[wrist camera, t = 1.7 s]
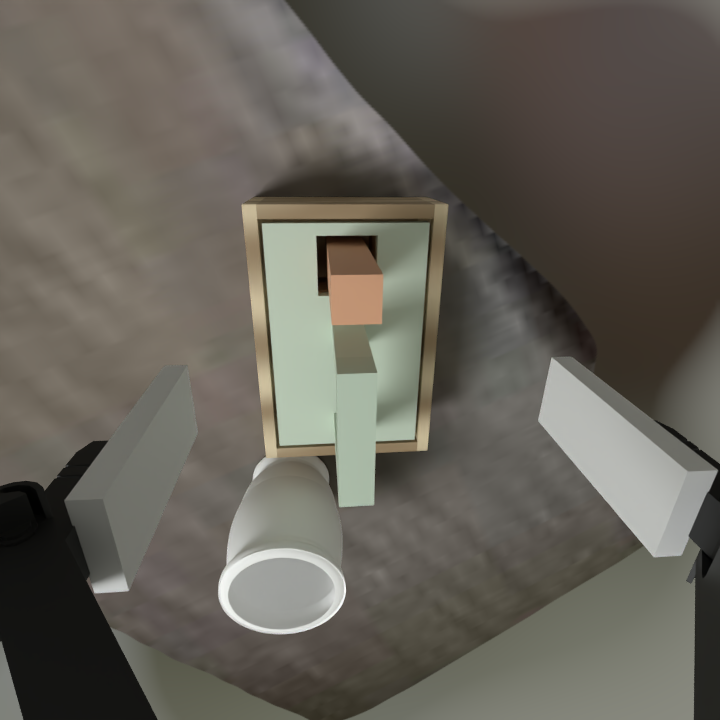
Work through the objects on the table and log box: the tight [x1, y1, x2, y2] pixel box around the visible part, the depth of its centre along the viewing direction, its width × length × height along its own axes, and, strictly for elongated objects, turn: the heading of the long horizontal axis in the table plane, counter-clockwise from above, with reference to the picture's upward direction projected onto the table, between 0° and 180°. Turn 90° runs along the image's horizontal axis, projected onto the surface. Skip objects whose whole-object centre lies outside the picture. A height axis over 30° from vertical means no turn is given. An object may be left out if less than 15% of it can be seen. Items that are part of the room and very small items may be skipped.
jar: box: [218, 456, 346, 634], centre depth 43 cm, size 11×10×15 cm
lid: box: [262, 221, 430, 507], centre depth 33 cm, size 19×12×10 cm, turn 0°
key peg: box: [326, 236, 383, 325], centre depth 33 cm, size 3×3×15 cm
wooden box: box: [242, 197, 448, 458], centre depth 40 cm, size 22×15×7 cm
